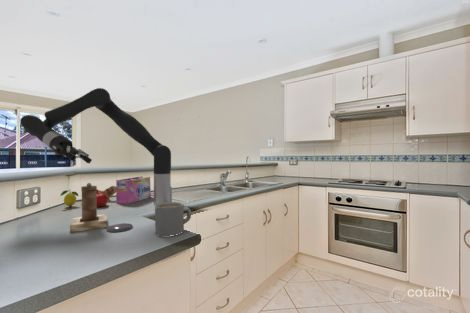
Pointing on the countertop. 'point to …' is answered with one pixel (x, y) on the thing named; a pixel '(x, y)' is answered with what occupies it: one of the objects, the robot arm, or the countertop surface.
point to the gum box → (132, 190)
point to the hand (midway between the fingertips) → (82, 160)
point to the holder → (88, 223)
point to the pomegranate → (101, 199)
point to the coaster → (119, 227)
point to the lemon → (69, 198)
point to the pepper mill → (89, 203)
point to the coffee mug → (170, 218)
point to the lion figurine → (109, 192)
